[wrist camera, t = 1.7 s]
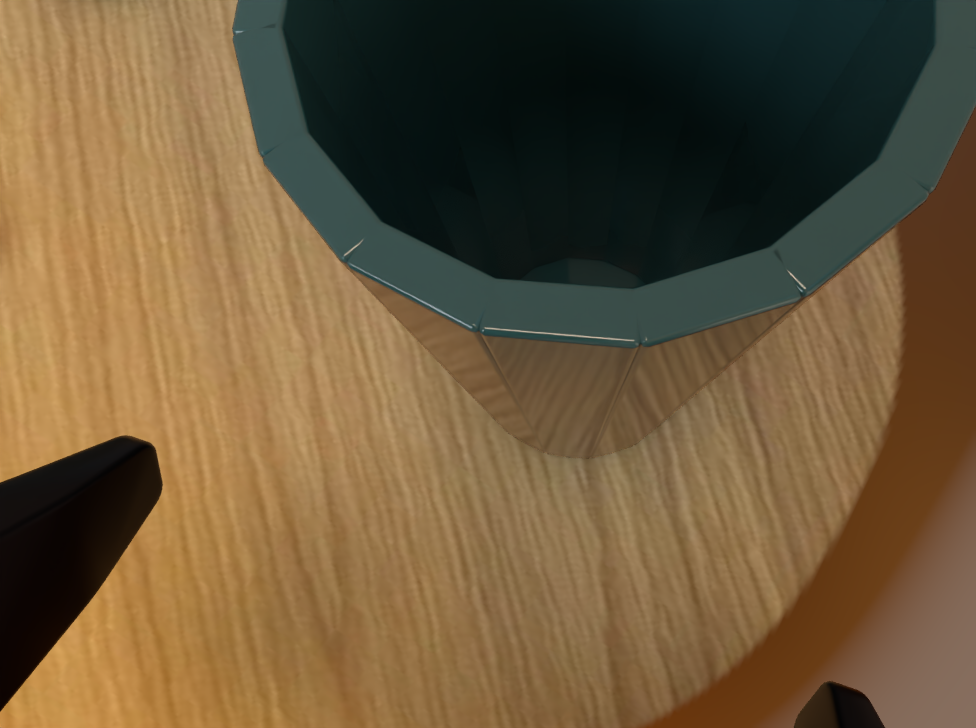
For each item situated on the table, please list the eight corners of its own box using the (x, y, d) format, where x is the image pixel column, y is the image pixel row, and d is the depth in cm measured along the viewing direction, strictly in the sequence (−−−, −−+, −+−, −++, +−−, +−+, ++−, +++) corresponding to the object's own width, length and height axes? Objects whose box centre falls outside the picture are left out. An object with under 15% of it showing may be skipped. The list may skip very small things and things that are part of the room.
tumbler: (625, 498, 21) (787, 495, 5) (435, 394, 22) (102, 139, 6) (724, 307, 21) (1131, -206, 6) (535, 217, 23) (454, -399, 7)
